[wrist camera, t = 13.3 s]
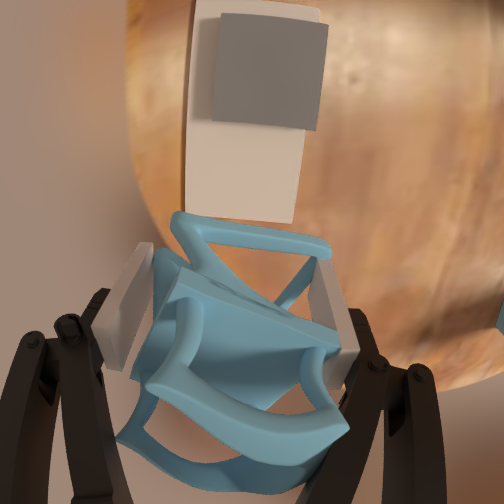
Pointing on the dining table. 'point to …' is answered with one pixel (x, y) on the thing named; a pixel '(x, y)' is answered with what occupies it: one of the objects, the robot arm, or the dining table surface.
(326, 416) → the chair
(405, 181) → the dining table surface
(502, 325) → the blue wavy holder
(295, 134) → the mat
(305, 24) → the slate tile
